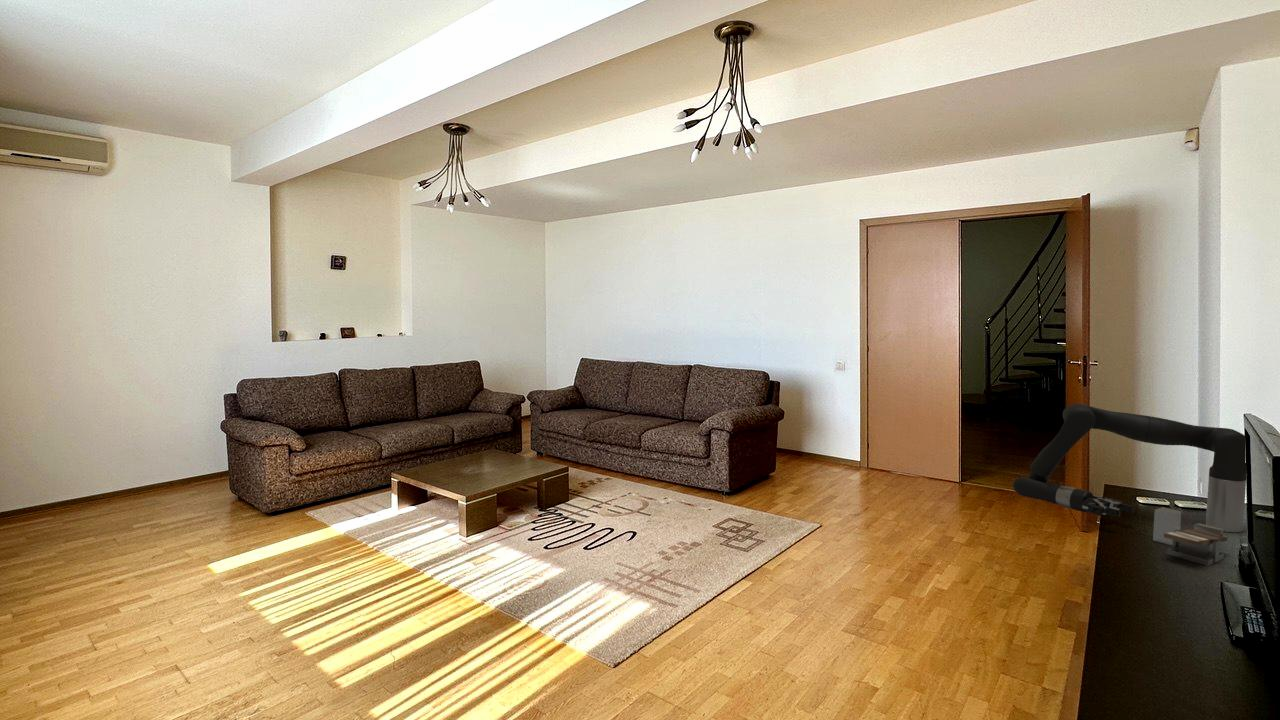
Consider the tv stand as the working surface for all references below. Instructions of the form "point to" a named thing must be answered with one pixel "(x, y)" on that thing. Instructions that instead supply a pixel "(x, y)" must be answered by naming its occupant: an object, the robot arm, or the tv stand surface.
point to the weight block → (1165, 524)
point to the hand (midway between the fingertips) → (1126, 511)
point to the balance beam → (1198, 535)
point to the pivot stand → (1196, 552)
